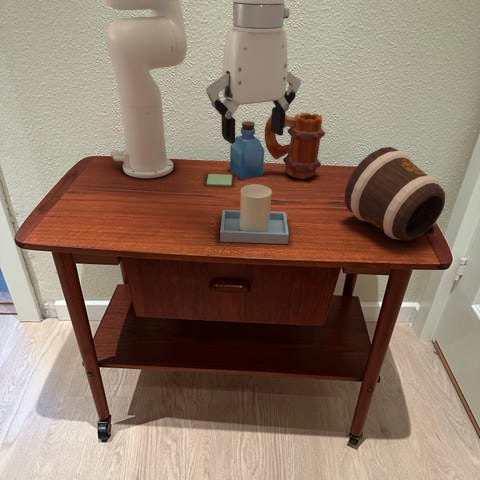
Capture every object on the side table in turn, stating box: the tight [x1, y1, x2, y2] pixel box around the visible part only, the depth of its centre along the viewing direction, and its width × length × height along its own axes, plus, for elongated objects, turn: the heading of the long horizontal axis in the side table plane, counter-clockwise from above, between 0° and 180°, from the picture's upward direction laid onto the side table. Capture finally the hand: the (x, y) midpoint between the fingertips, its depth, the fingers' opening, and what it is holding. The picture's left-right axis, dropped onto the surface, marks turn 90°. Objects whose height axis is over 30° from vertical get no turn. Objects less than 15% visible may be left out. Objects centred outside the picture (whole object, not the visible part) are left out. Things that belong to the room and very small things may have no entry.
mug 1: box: [264, 112, 326, 180], centre depth 104 cm, size 15×8×15 cm, turn 84°
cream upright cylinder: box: [239, 183, 273, 232], centre depth 83 cm, size 6×6×8 cm
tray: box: [219, 209, 290, 245], centre depth 86 cm, size 13×9×2 cm
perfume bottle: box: [229, 120, 265, 180], centre depth 104 cm, size 6×6×12 cm
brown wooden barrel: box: [344, 146, 446, 242], centre depth 85 cm, size 20×15×15 cm
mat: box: [206, 173, 233, 187], centre depth 104 cm, size 6×6×1 cm
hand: (253, 137), depth 74 cm, fingers open, 9 cm apart
